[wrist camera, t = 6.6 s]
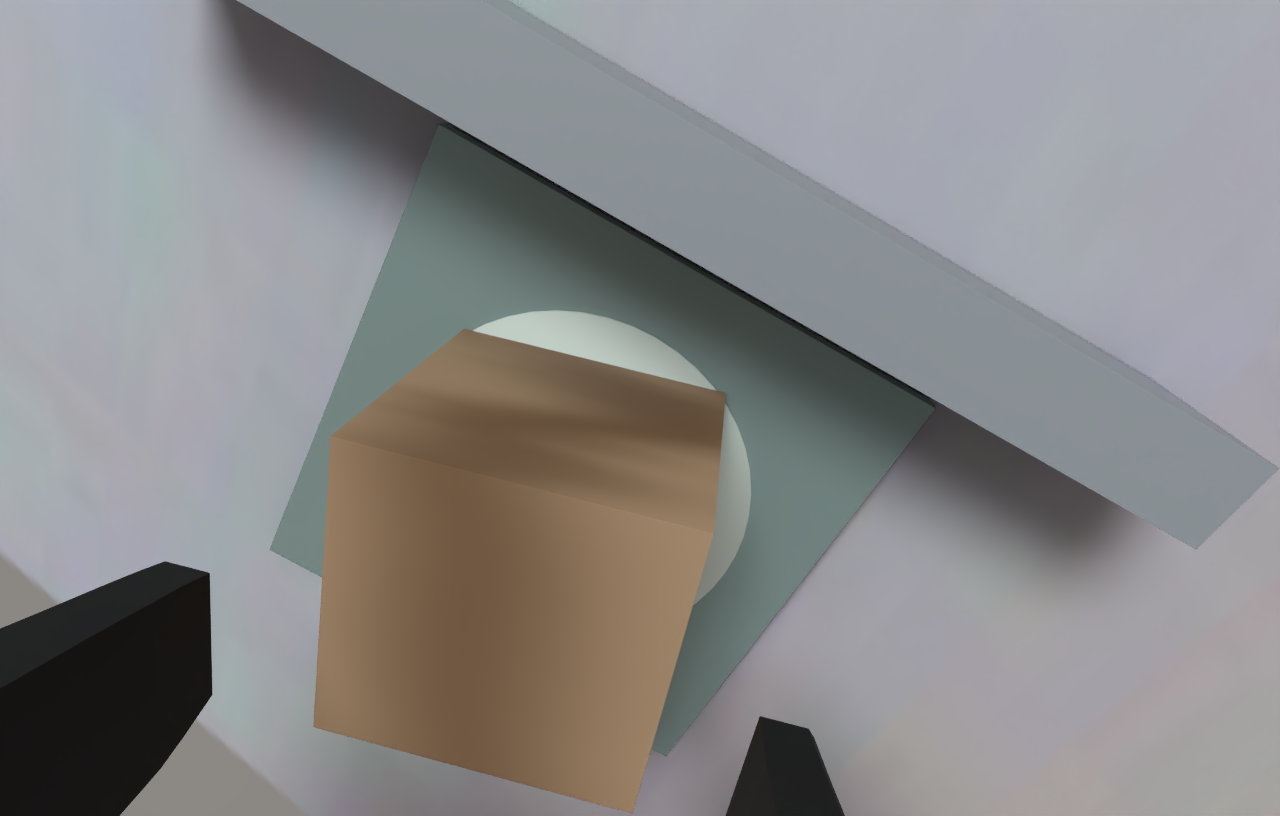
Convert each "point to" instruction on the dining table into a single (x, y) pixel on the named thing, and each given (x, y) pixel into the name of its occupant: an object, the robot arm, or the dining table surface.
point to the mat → (637, 340)
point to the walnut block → (516, 563)
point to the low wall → (794, 247)
